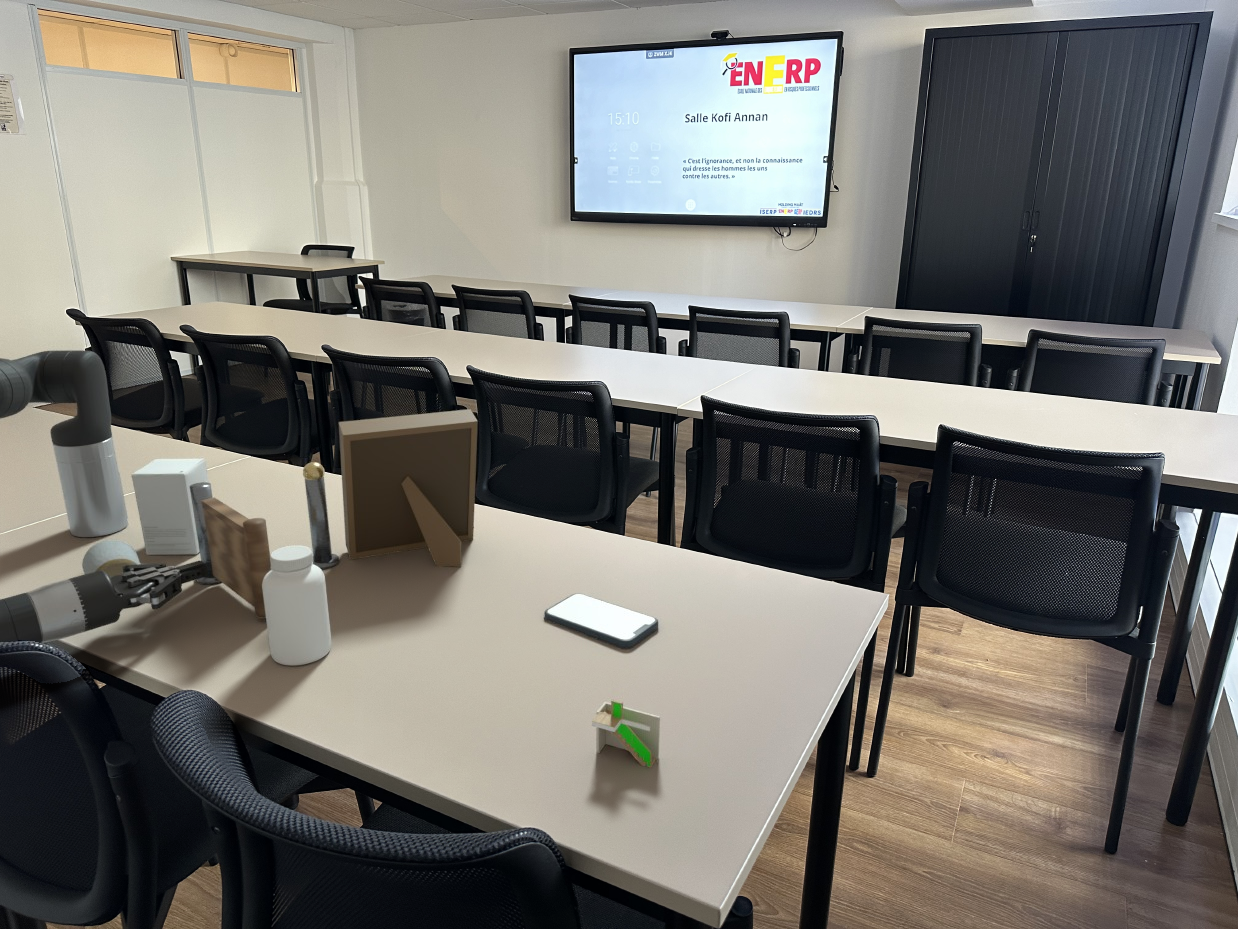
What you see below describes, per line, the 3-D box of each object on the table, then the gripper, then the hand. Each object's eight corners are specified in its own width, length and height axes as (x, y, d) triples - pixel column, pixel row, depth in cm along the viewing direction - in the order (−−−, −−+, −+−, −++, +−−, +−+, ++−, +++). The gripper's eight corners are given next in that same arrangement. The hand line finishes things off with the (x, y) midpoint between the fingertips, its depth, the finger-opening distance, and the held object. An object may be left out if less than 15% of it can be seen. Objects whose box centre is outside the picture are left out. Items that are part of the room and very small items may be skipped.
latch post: (311, 557, 147) (300, 458, 142) (342, 556, 148) (332, 457, 142) (303, 570, 142) (292, 467, 137) (335, 568, 143) (325, 467, 137)
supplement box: (219, 535, 156) (207, 457, 151) (197, 555, 147) (184, 473, 143) (168, 535, 156) (155, 457, 151) (144, 555, 147) (129, 473, 142)
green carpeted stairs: (645, 782, 94) (646, 719, 91) (589, 765, 96) (589, 704, 94) (658, 760, 97) (660, 700, 95) (604, 745, 100) (604, 685, 97)
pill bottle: (344, 643, 120) (334, 545, 115) (306, 672, 113) (294, 569, 108) (297, 633, 122) (285, 537, 118) (258, 661, 115) (243, 560, 111)
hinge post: (203, 571, 141) (189, 480, 136) (235, 570, 142) (222, 479, 137) (191, 585, 137) (176, 491, 131) (225, 584, 137) (211, 490, 132)
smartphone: (540, 622, 128) (627, 653, 119) (540, 612, 127) (627, 643, 118) (576, 600, 135) (662, 628, 126) (576, 590, 134) (662, 618, 125)
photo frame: (346, 550, 150) (333, 413, 142) (466, 531, 159) (461, 401, 151) (360, 585, 137) (347, 437, 129) (490, 562, 146) (486, 423, 138)
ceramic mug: (95, 608, 129) (87, 562, 126) (86, 589, 135) (78, 544, 132) (172, 590, 135) (165, 546, 133) (160, 572, 141) (153, 529, 139)
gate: (210, 579, 136) (196, 494, 132) (228, 573, 138) (216, 490, 134) (260, 619, 124) (248, 527, 120) (280, 612, 126) (269, 522, 122)
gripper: (82, 597, 109) (219, 558, 121) (53, 566, 118) (184, 532, 130) (93, 649, 112) (226, 605, 123) (64, 614, 120) (191, 576, 132)
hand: (204, 567), depth 127 cm, fingers closed
